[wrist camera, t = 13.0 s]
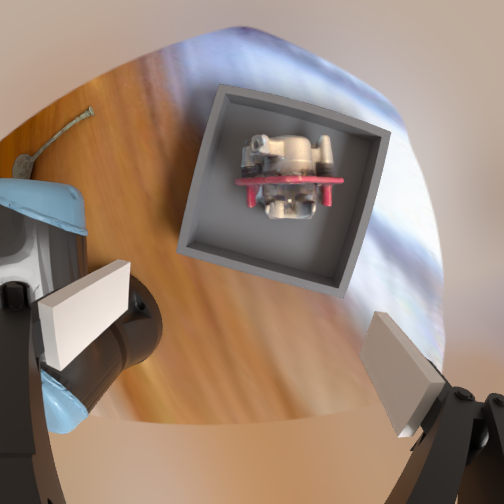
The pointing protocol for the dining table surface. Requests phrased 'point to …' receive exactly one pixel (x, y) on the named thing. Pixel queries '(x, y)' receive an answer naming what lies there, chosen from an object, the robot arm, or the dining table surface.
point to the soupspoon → (40, 151)
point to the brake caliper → (288, 175)
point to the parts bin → (254, 219)
